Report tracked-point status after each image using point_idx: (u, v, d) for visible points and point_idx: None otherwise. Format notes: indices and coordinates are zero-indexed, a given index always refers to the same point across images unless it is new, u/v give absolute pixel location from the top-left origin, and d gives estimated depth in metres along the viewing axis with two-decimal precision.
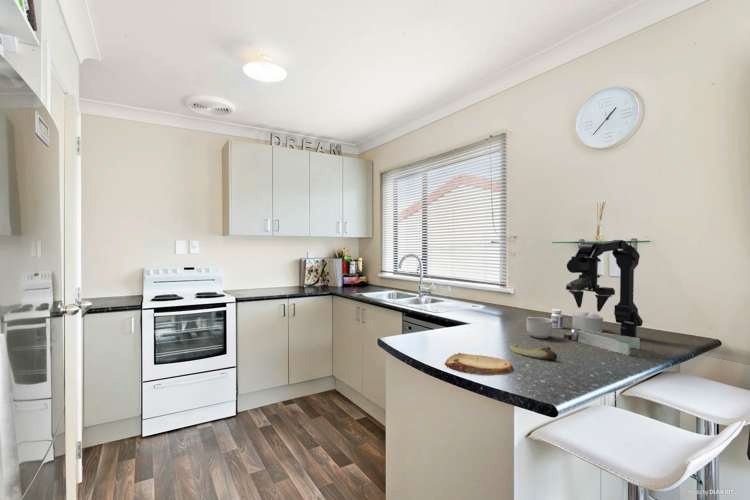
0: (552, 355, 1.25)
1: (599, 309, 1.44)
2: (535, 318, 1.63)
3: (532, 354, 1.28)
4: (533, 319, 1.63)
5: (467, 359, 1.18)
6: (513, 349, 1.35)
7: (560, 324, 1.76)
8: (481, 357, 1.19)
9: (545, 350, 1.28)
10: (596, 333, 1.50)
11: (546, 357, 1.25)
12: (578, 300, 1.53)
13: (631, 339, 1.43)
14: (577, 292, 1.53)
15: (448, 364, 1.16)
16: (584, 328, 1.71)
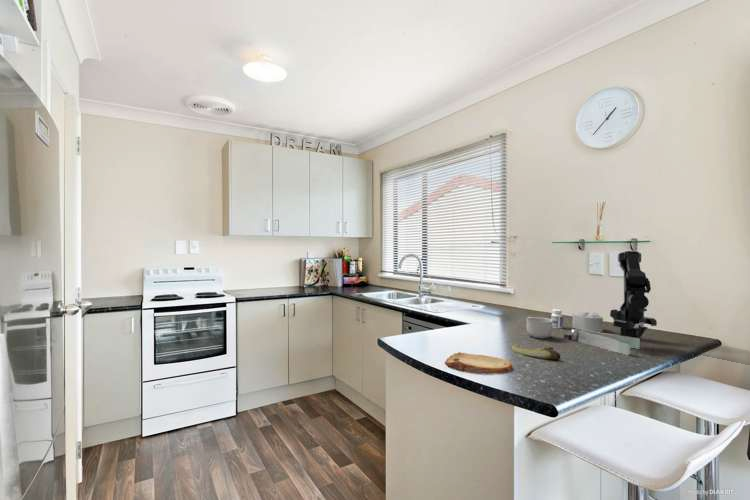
0: (555, 355, 1.25)
1: None
2: (535, 318, 1.63)
3: (535, 354, 1.28)
4: (533, 319, 1.63)
5: (467, 358, 1.19)
6: (516, 349, 1.35)
7: (560, 324, 1.76)
8: (481, 357, 1.20)
9: (548, 350, 1.28)
10: (596, 333, 1.50)
11: (549, 357, 1.25)
12: None
13: (631, 339, 1.42)
14: None
15: (448, 363, 1.17)
16: (584, 328, 1.71)
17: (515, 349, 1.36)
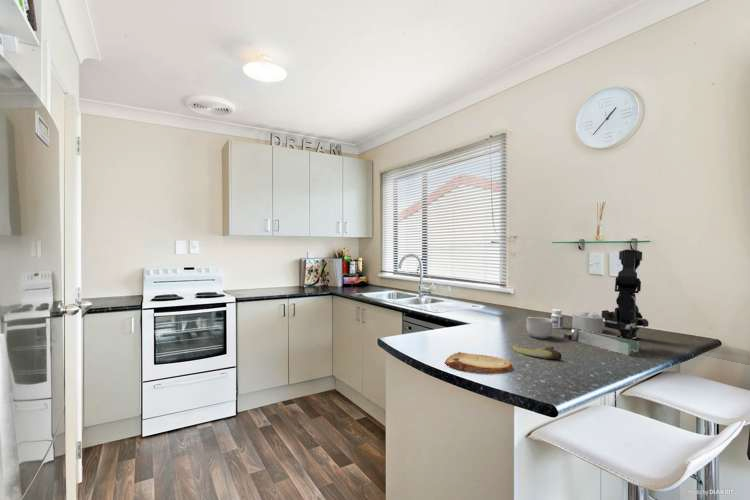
0: (557, 355, 1.25)
1: None
2: (535, 318, 1.63)
3: (536, 354, 1.28)
4: (533, 319, 1.63)
5: (467, 358, 1.19)
6: (517, 349, 1.35)
7: (560, 324, 1.76)
8: (481, 356, 1.20)
9: (549, 350, 1.28)
10: (596, 334, 1.48)
11: (551, 357, 1.25)
12: None
13: (629, 342, 1.39)
14: None
15: (448, 363, 1.17)
16: (584, 328, 1.71)
17: (516, 349, 1.36)
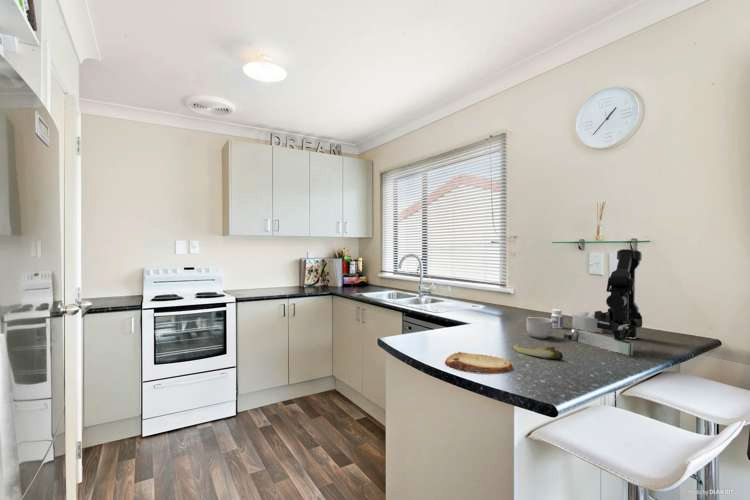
0: (558, 354, 1.25)
1: None
2: (535, 318, 1.63)
3: (538, 354, 1.28)
4: (533, 319, 1.63)
5: (467, 358, 1.20)
6: (518, 349, 1.35)
7: (560, 324, 1.76)
8: (481, 356, 1.20)
9: (550, 350, 1.29)
10: None
11: (552, 357, 1.25)
12: None
13: None
14: None
15: (448, 363, 1.17)
16: (584, 328, 1.71)
17: (517, 349, 1.36)
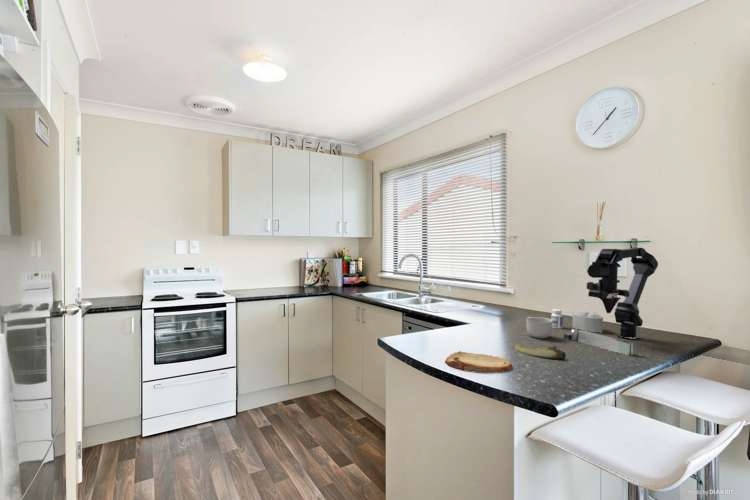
0: (561, 354, 1.26)
1: (607, 311, 1.54)
2: (535, 318, 1.63)
3: (541, 354, 1.28)
4: (533, 319, 1.63)
5: (467, 357, 1.20)
6: (520, 349, 1.35)
7: (560, 324, 1.76)
8: (481, 356, 1.21)
9: (553, 349, 1.29)
10: None
11: (555, 356, 1.26)
12: None
13: None
14: None
15: (448, 362, 1.18)
16: (584, 328, 1.71)
17: (519, 349, 1.36)
